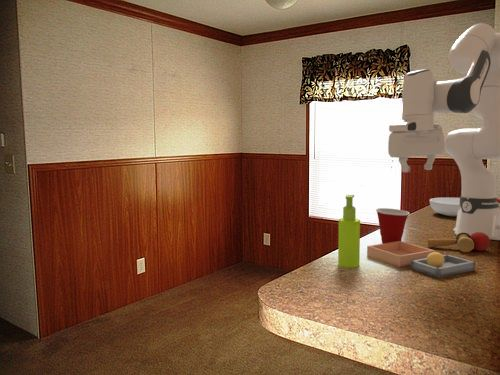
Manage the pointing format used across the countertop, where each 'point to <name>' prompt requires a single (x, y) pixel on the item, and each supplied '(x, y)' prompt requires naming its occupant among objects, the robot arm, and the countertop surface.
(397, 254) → the dish
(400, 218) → the plastic cup
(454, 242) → the kendama
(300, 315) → the countertop surface
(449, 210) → the serving bowl
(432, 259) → the ball
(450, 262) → the tray
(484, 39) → the robot arm
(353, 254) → the soap dispenser
